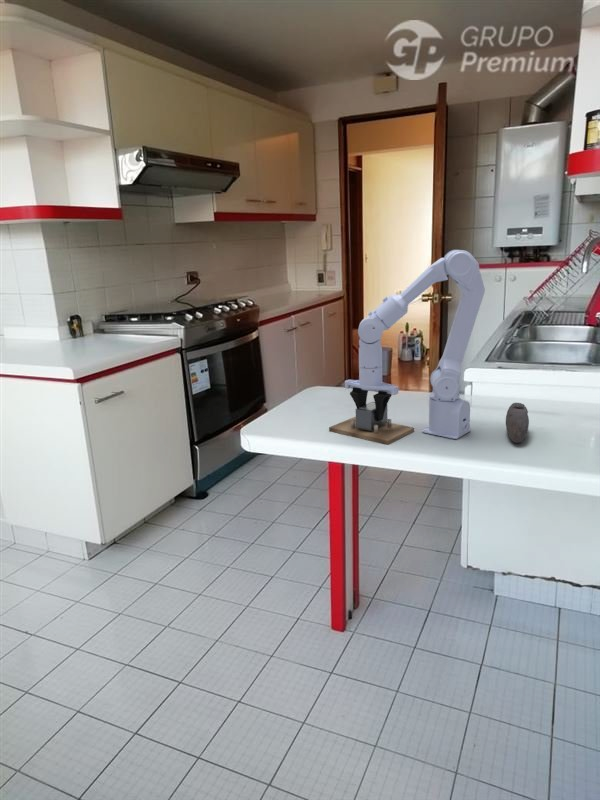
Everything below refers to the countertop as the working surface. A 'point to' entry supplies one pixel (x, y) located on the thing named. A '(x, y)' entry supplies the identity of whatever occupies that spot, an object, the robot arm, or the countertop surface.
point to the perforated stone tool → (517, 422)
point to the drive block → (369, 417)
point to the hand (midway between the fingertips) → (371, 418)
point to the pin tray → (373, 431)
